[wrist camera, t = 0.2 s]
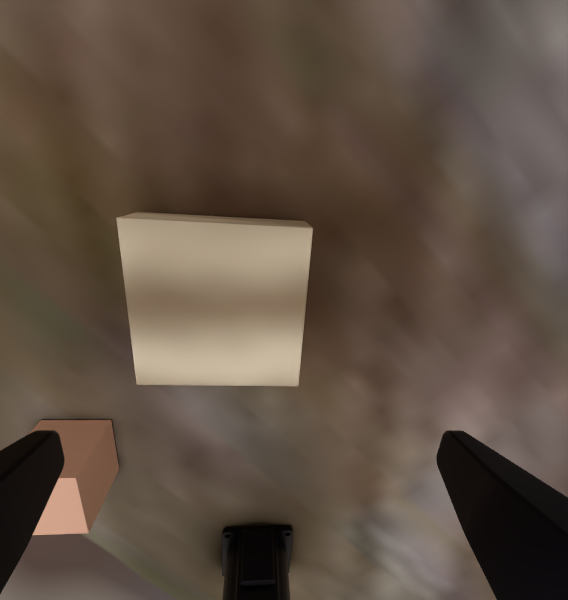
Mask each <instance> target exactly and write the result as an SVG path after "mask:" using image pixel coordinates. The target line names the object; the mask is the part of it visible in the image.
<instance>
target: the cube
mask: <svg viewBox="0 0 568 600" xmlns="http://www.w3.org/2000/svg"><path fill="white" fill-rule="evenodd" d="M37 430H55V431H57V432H58V433H59V435H60V440H61V444H62V448H63V453H64V458H65V462H64V467H63V470H62V472H61V474H60V477H59V479H58V481H57V483H56V485H55V487H54V490H53V492H52V494H51V496H50V498H49V500H48V503H47V505H46V507H45V509H44V511H43V513H42V516H41V518H40V520H39V522H38V524H37V527H36V529H35V531H34V533H33V535H46V534H74V533H75V534H77V533H89V531H90V529H91V527H92V525H93V523H94V521H95V518H96V516H97V514H98V512H99V510H100V508H101V506H102V504H103V502H104V500H105V498H106V496H107V494H108V491H109V489H110V487H111V485H112V483H113V481H114V479H115V477H116V475H117V473H118V471H119V465H118V459H117V452H116V446H115V440H114V434H113V428H112V422H111V420H41V421H40V422H39V423H38V424H37V425H36V426H35V427H34V428H33V430H32V431H31V432H30V433H32V432H34V431H37ZM30 433H29V434H30Z"/></svg>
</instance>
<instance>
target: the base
mask: <svg viewBox="0 0 568 600" xmlns="http://www.w3.org/2000/svg"><path fill="white" fill-rule="evenodd" d="M116 219H117V227H118V235H119V243H120V252H121V260H122V268H123V276H124V284H125V293H126V301H127V309H128V317H129V325H130V334H131V342H132V350H133V358H134V366H135V375H136V383H137V385H226V386H298V383H299V372H300V361H301V351H302V340H303V329H304V319H305V308H306V297H307V287H308V276H309V265H310V254H311V244H312V233H313V228H312V227H311V226H310V225H309V224H308V223H307V222H306V221H294V220H276V219H258V218H240V217H221V216H203V215H185V214H167V213H149V212H135V213H132V214H128V215H125V216H121V217H118V218H116Z"/></svg>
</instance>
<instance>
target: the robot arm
mask: <svg viewBox="0 0 568 600" xmlns="http://www.w3.org/2000/svg"><path fill="white" fill-rule="evenodd" d="M64 462H65V458H64V453H63V448H62V444H61V440H60V435H59V433H58V432H57V431H55V430H37V431H34V432H32V433H30V434H28V435H27V436H25V437H23V438H21V439H20V440H18V441H16V442H15V443H13V444H11V445H9V446H8V447H6V448H4V449H2V450H1V451H0V594H1V592H2V590H3V588H4V586H5V585H6V583H7V581H8V579H9V578H10V576H11V574H12V572H13V570H14V569H15V567H16V565H17V564H18V562H19V560H20V558H21V556H22V554H23V553H24V551H25V549H26V547H27V545H28V543H29V541H30V539H31V537H32V535H33V533H34V531H35V529H36V527H37V524H38V522H39V520H40V518H41V516H42V513H43V511H44V509H45V507H46V505H47V503H48V500H49V498H50V496H51V494H52V492H53V490H54V487H55V485H56V483H57V481H58V479H59V477H60V474H61V472H62V470H63V467H64ZM437 465H438V468H439V471H440V473H441V476H442V478H443V481H444V483H445V486H446V489H447V491H448V494H449V496H450V499H451V501H452V504H453V506H454V509H455V511H456V514H457V517H458V519H459V522H460V524H461V526H462V529H463V531H464V533H465V536H466V538H467V540H468V542H469V544H470V546H471V548H472V550H473V552H474V554H475V556H476V558H477V560H478V562H479V564H480V566H481V568H482V570H483V572H484V574H485V576H486V578H487V581H488V583H489V585H490V587H491V589H492V591H493V593H494V595H495V597H496V599H497V600H568V497H566V496H565V495H563V494H561V493H560V492H558V491H557V490H555V489H554V488H552V487H550V486H549V485H547V484H546V483H544V482H543V481H541V480H539V479H538V478H536V477H535V476H533V475H532V474H530V473H528V472H527V471H525V470H524V469H522V468H521V467H519V466H517V465H516V464H514V463H513V462H511V461H510V460H508V459H506V458H505V457H503V456H502V455H500V454H499V453H497V452H495V451H494V450H492V449H491V448H489V447H488V446H486V445H484V444H483V443H481V442H480V441H478V440H477V439H475V438H473V437H472V436H470V435H469V434H467V433H466V432H464V431H446V432H445V433H444V434H443V436H442V440H441V443H440V446H439V450H438V453H437ZM292 539H293V529H292V527H290V526H278V527H244V528H225V529H224V530H223V531H222V575H223V576H224V589H223V600H290V590H289V576H288V573H289V567H290V558H291V548H292Z"/></svg>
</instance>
